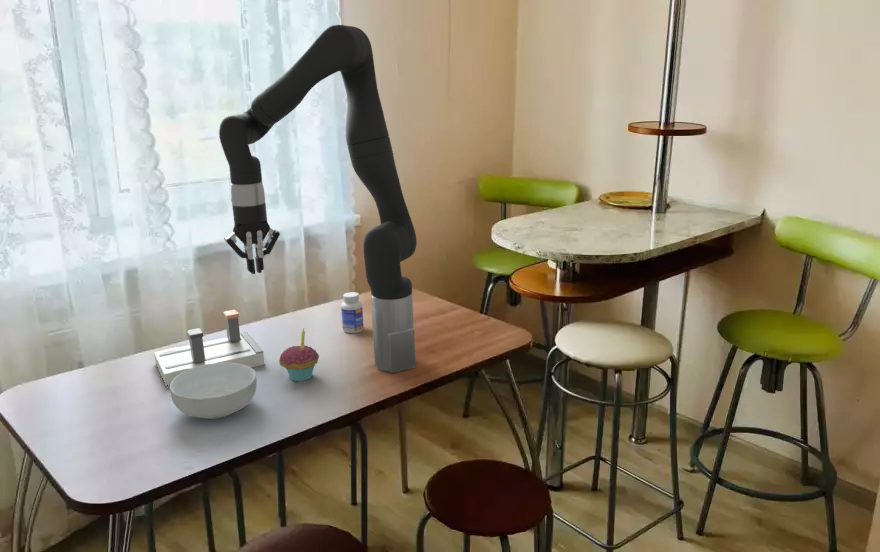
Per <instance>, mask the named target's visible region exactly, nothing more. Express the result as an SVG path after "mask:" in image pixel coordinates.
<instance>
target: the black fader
mask: <svg viewBox="0 0 880 552" xmlns="http://www.w3.org/2000/svg"><path fill="white" fill-rule="evenodd" d="M186 334H187V336H188V339H189V345H190V349H191V356H192V360H193V362H194V363H199V362H204V361H205V354H204V346H203V342H204V339H203V337H204V332H203V331H202V329H201V328H200V327H197V328H193V329H188V330H186Z"/></svg>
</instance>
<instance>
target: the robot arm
mask: <svg viewBox="0 0 880 552" xmlns="http://www.w3.org/2000/svg"><path fill="white" fill-rule="evenodd" d="M375 68H376V67H375V60H374V54H373V48H372V43H371V41H370V38H369V37H368V36H367V34H366V32H364V30H362V28H360V27H359V28H358V27H356V26H353V25H343V24H335V25H330V26H329V27H327V28H325V30H323V31H322V32H321V34H319V36H317V38H316V39H315V40H314V42H312V44H311V45H310V47H308V48H307V49H306V51H305V52H304V53H303V55H301V57H300V58H299V59H298V60H297V61H296V62H295V63H294V64H293V65H292V66H291V67H290V68H289V69H288V70H287V71H286V72H285V73H283V74H282V75H281V76H280V77H279V78H278V79H276V80H275V81H274V82H272V83H271V84H270V85H269V86H267V88H264V89H263V90H262V91H261V92H260V93H259V94H257V96H256V97H254V98H253V100H252V101H251V104H250V107H249V108H248V109H247V110H246V111H243V112H242V113H238V114H232V115H231V114H230V115H228V116H226V117H224V118H223V119H222V121H221V122H220V123H219V124H220V125H219V129H218V135H219V142H220V145H221V147H222V150H223V153H224V156H225V159H226V161H227V163H228V164H227V165H228V166H229V167H228V168H229V175H230V194H231V195H230V196H231V199H230V200H231V201H230V202H231V207H232V212H233V213H232V214H233V223H234V225H233V229H232V233H230V234H229V235H228V236H227V235H226V236H225V237H224V239H223V240H224V241H225V243H226V244H227V245H229V247H230V248H231V249H232V250H233V251H234V252H235V253H236V254H237V256H239V257H240V258H242V259H245V260H246V268H247V271H248V272H249V273H251V275H255V274H256V272H257V273H258V274H262V273H263V272H262V271H264V270H265V267H264V264H265V263H264V256H266V255H269V254H271V252H272V250H273V248H274V247H275V244H276V243H277V241H278V239H279V237H280V235H281V232H280V231H278V230H277V229H274V228H271V226H270V224H269V223H268V215H267V205H266V195H265V194H266V193H265V188H264V185H263V176H262V166H261V161H260V159H259V158H258V157H257V156H254V155H252V153H251V149H250V146H249V145H252V144H254V143H256V142H258V141H260V140H261V139H262V138H264V136H266V135H267V134H268V132H270V130H271V129H272V128H273V127H274V125H276V124H277V123H279V122H280V121H282V120H283V119H284V118H285V117H286V116H287V115H289V114H290V113H292V111H294V110H295V109H296V108H297V107H298V106H299V105H300V104H301V103H302V102H303V100H304V99H305V97H306V96H307V94H308V93H309V92H310V91H311V90H312V88H314V87H315V86H316V85H317V84H319V83H320V82H322V81H323V80H325V79H327V78H328V77H330V76H332V75H333V74H336V73H338V72H340V75H341V79H342V81H343V86H344V88H345V95H346V105H347V106H346V118H345V140H346V145H347V149H348V154H349V158H350V163H351V165H352V168H353V170H354V172H355V174H356V175H357V177H358V178H359V180H360V181H361V183H362V184H363V185H364V186H365V187H366V190H368V192H369V193H370V195H371V196H372V199H373V200H374V203H375V205H376V207H377V210H378V211H377V212H378V215H379V216H378V217H379V219H380V220H379V221H380V224H379V225H376V226H374V227H372V228H370V229H369V230H368V231H367V232H366V233H365V236H364V239H363V247H362V248H363V259H364V266H365V267H364V269H365V276H366V281H367V284H368V286H369V288H370V297H371V316H372V318H371V319H372V336H373V337H372V338H373V350H374V351H373V352H374V366H375V368H376V369H378V370H380V371H384V372H389V373H391V374H394V373H400V372H403V371H406V370H410V369H414V368H415V369H416V344H415V341H416V340H415V339H416V338H415V329H414V306H413V304H414V303H413V302H414V301H413V283H412V281H411V279H410V278H408V277H406V276H403V275H402V268H401V267H402V266H401V263H402V262H403V261H405V260H407V259H409V258H410V257H412V256H413V254H414V253H415V252H416V249H417V244H418V243H417V242H418V240H417V233H416V230H415V228H414V224H413V221H412V219H411V216H410V212H409V209H408V206H407V204H406V201H405V198H404V194H403V190H402V185H401V183H400V179H399V174H398V170H397V166H396V163H395V158H394V157H395V156H394V151H393V147H392V143H391V138H390V134H389V130H388V126H387V123H386V122H387V121H386V119H385V115H384V110H383V106H382V102H381V98H380V93H379V88H378V83H377V78H376V77H377V76H376V70H375ZM267 236H268V237H267ZM266 237H267V240H266V242H265V244H264V240H265V238H266ZM237 239H238V240H239V241H240V242H241V243H242V244H243V248H244V251H243V250H242V249H241V247H239V246H238V245H237V244H236V243H237V242H238V240H237ZM253 245H254V248H253ZM253 250H255V251H254V252H255V257H254V254H253Z"/></svg>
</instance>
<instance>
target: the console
mask: <svg viewBox="0 0 880 552" xmlns="http://www.w3.org/2000/svg"><path fill="white" fill-rule="evenodd" d="M240 339H241V340H240V341H235V342H230V341H229V340H228V338H227V336H226V337H223V338H222V337H221V338H218V339H212V340H208V341H203V346H204V354H205V361H204V362H199V363H194V362H193V360H192V356H191V349H190V344H188V345H187V344H186V345H184V346H178V347H171V348H166V349H162V350H158V351H154V352H153V355H154V361H155V366H156V365H157V366H156V367H158V368H157V370H158V372H159V374H160V376H162V377H161V379H162V378H163V379H162V381H163V380H164V381H163V383H164V382H165V383H164V385H165V387H168V386H167V385H170V383H171V381H172V380H173V379H174V378H175V377H176V376H177V375H179V374H181V373H182V372H184V371H186V370H189V369H191V368H194V367H197V366H201V365H206V364H212V363H238V364H243V365H246V366H249V367H251V368H254V367H259V366H262V365H263V366H264V365H265V356H264V350H263V349H262V348H261V347H260V345H259V344H258V343H257V342H256V340H255V339H254V338H253V337H252V335H251V334H250V333H249V332H248V331H245V332H241V333H240Z"/></svg>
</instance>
